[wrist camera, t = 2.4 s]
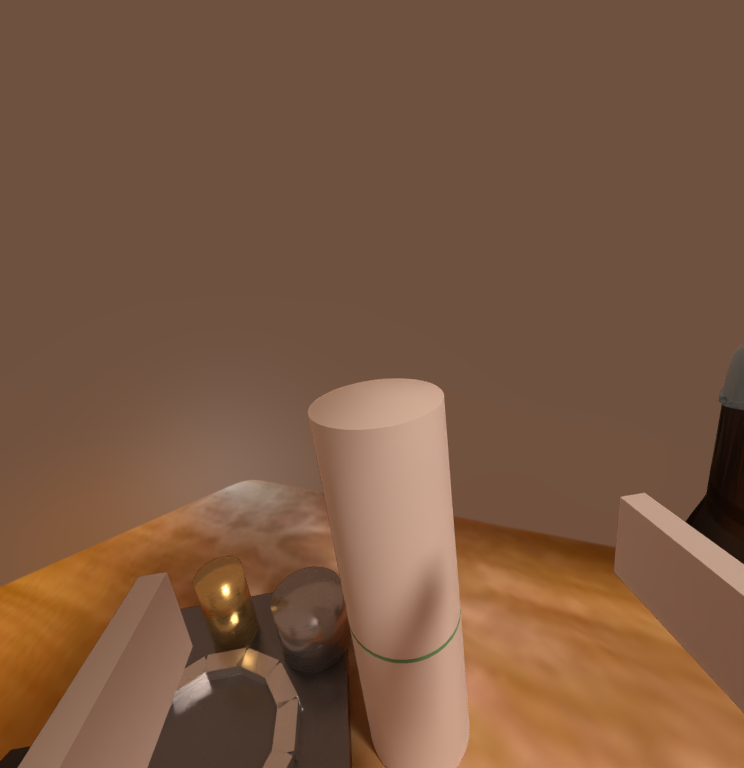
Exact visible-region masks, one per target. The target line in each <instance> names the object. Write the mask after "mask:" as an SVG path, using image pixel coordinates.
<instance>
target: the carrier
mask: <svg viewBox="0 0 744 768" xmlns="http://www.w3.org/2000/svg"><path fill="white" fill-rule="evenodd" d="M193 586H194V589H195V592H196V595H197V598H198V600H199V603H200V606H195V607H190V608H184V609H180V611H181V614H182V617H183V620H184V622H185V625H186V628H187V631H188V634H189V637H190V640H191V643H192V646H193V647H192V650H191V652H190V655H189V658H188V660H187V663H186V666H185V668H184V671H183V674H182V676H181V679H180V682H179V684H178V687H177V690H176V692H175V695H174V698H173V701H172V703H171V706H170V709H169V711H168V714H167V717H166V719H165V722H164V725H163V727H162V730H161V733H160V735H159V738H158V741H157V743H156V746H155V749H154V751H153V754H152V757H151V759H150V762H149V765H148V767H147V768H352V756H351V729H350V702H349V675H348V645H349V642H350V638H351V631H350V626H349V621H348V616H347V611H346V606H345V601H344V596H343V590H342V585H341V580H340V578H339V576H338V575H337V574H336V573H335V572H334V571H332V570H330V569H328V568H324V567H308V568H304V569H301V570H298V571H296V572H294V573H292V574H291V575H289V576H288V577H286V578H285V579H284V580H283V581H282V582H281V583H280V584H279V585H278V587H277V588H276V590H275V591H274V592H273V593H268V594H262V595H256V596H251V594H250V591H249V588H248V584H247V581H246V577H245V574H244V570H243V567H242V564H241V561H240V559H238V558H237V557H235V556H222V557H219V558H216V559H214V560H211V561H210V562H208V563H206V564H205V565H204V566H203V567H201V568H200V569H199V571H198V572H197V573H196V575H195V576H194V579H193Z"/></svg>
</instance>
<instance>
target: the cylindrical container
mask: <svg viewBox="0 0 744 768" xmlns="http://www.w3.org/2000/svg"><path fill="white" fill-rule="evenodd" d="M308 416H309V421H310V426H311V431H312V436H313V441H314V447H315V452H316V457H317V462H318V467H319V472H320V478H321V483H322V487H323V493H324V498H325V503H326V508H327V513H328V519H329V524H330V529H331V534H332V539H333V544H334V549H335V555H336V560H337V565H338V570H339V575H340V580H341V585H342V590H343V596H344V601H345V606H346V611H347V616H348V621H349V626H350V631H351V636H352V641H353V646H354V651H355V656H356V661H357V667H358V672H359V677H360V682H361V687H362V692H363V697H364V702H365V707H366V712H367V717H368V722H369V727H370V732H371V737H372V742H373V745H374V748H375V751H376V753H377V755H378V757H379V758H380V760H381V762H382V763H383V764H384V766H385V767H386V768H456V767H457V766H458V765H459V764H460V762H461V760H462V758H463V756H464V754H465V752H466V748H467V745H468V741H469V730H470V729H469V716H468V703H467V689H466V676H465V663H464V649H463V636H462V623H461V610H460V596H459V583H458V570H457V558H456V545H455V532H454V519H453V507H452V494H451V481H450V468H449V456H448V442H447V431H446V417H445V405H444V393H443V392H442V390H441V389H440V388H439V387H437V386H436V385H434V384H431V383H429V382H425V381H421V380H414V379H400V378H399V379H379V380H371V381H365V382H360V383H355V384H351V385H347V386H344V387H341V388H338V389H335V390H333V391H330V392H328V393H326V394H324V395H322V396H321V397H319V398H318V399H316V400H315V401H314V402H313V403H312V404H311V405H310V407H309V409H308Z"/></svg>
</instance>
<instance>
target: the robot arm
mask: <svg viewBox="0 0 744 768" xmlns="http://www.w3.org/2000/svg"><path fill="white" fill-rule="evenodd" d="M719 402H721V403H722V406H721V412H720V417H719V423H718V429H717V434H716V440H715V446H714V451H713V457H712V463H711V468H710V475H709V481H708V487H707V492H706V495H705V496H704V498H703V499H702V500H701V502H700V503H699V504H698V506H697V507H696V508H695V510H694V511H693V512H692V514H691V515H690V516H689V518H688V519H687V520H686V522H684V521H683V520H682V519H680V518H679V517H677V516H676V515H675V514H673V513H672V512H671V511H669V510H668V509H666V508H665V507H664V506H662V505H661V504H659V503H658V502H657V501H655V500H654V499H653V498H651V497H650V496H648V495H647V494H646V493H640V494H634V495H628V496H623V497H620V503H619V515H618V527H617V539H616V550H615V562H614V573H615V574H616V575H617V576H618V577H619V578H620V579H621V580H622V581H623V582H624V584H625V585H626V586H627V587H628V588H629V589H630V590H631V591H632V592H633V593H634V594H635V596H636V597H637V598H638V599H639V600H640V601H641V602H642V603H643V604H644V605H645V606H646V607H647V609H648V610H649V611H650V612H651V613H652V614H653V615H654V616H655V617H656V618H657V619H658V620H659V622H660V623H661V624H662V625H663V626H664V627H665V628H666V629H667V630H668V631H669V632H670V634H671V635H672V636H673V637H674V638H675V639H676V640H677V641H678V642H679V643H680V644H681V645H682V647H683V648H684V649H685V650H686V651H687V652H688V653H689V654H690V655H691V656H692V657H693V658H694V660H695V661H696V662H697V663H698V664H699V665H700V666H701V667H702V668H703V669H704V670H705V672H706V673H707V674H708V675H709V676H710V677H711V678H712V679H713V680H714V681H715V682H716V683H717V685H718V686H719V687H720V688H721V689H722V690H723V691H724V692H725V693H726V694H727V695H728V696H729V698H730V699H731V700H732V701H733V702H734V703H735V704H736V705H737V706H738V707H739V708H740V710H741V711H742V712H743V713H744V344H742V345H741V346H739V348H738V349H736V351H735V352H734V353H733V355H732V357H731V359H730V362H729V367H728V371H727V375H726V379H725V383H724V387H723V388H722V389H721V391H720V393H719ZM192 647H193V646H192V643H191V640H190V637H189V634H188V631H187V628H186V625H185V622H184V620H183V617H182V614H181V611H180V608H179V605H178V602H177V599H176V597H175V594H174V591H173V588H172V585H171V582H170V579H169V576H168V573H167V572H164V573H158V574H152V575H146V576H140V577H138V578H137V580H136V582H135V583H134V585H133V586H132V588H131V589H130V591H129V593H128V594H127V596H126V597H125V599H124V601H123V602H122V604H121V605H120V607H119V608H118V610H117V612H116V613H115V615H114V616H113V618H112V619H111V621H110V623H109V624H108V626H107V627H106V629H105V631H104V632H103V634H102V635H101V637H100V638H99V640H98V642H97V643H96V645H95V646H94V648H93V649H92V651H91V653H90V654H89V656H88V657H87V659H86V661H85V662H84V664H83V665H82V667H81V668H80V670H79V672H78V673H77V675H76V676H75V678H74V679H73V681H72V683H71V684H70V686H69V687H68V689H67V691H66V692H65V694H64V695H63V697H62V698H61V700H60V702H59V703H58V705H57V706H56V708H55V709H54V711H53V713H52V714H51V716H50V717H49V719H48V721H47V722H46V724H45V725H44V727H43V728H42V730H41V732H40V733H39V735H38V736H37V738H36V740H35V741H34V743H33V744H32V746H30V747H24V748H19V749H13V750H11V751H10V752H9V753H8V754H7V755H6V756H5V757H4V758H3V759H2V760H1V761H0V768H147V767H148V765H149V762H150V759H151V757H152V754H153V751H154V749H155V746H156V743H157V741H158V738H159V735H160V733H161V730H162V727H163V725H164V722H165V719H166V717H167V714H168V711H169V709H170V706H171V703H172V701H173V698H174V695H175V692H176V690H177V687H178V684H179V682H180V679H181V676H182V674H183V671H184V668H185V666H186V663H187V660H188V658H189V655H190V652H191V650H192Z"/></svg>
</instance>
